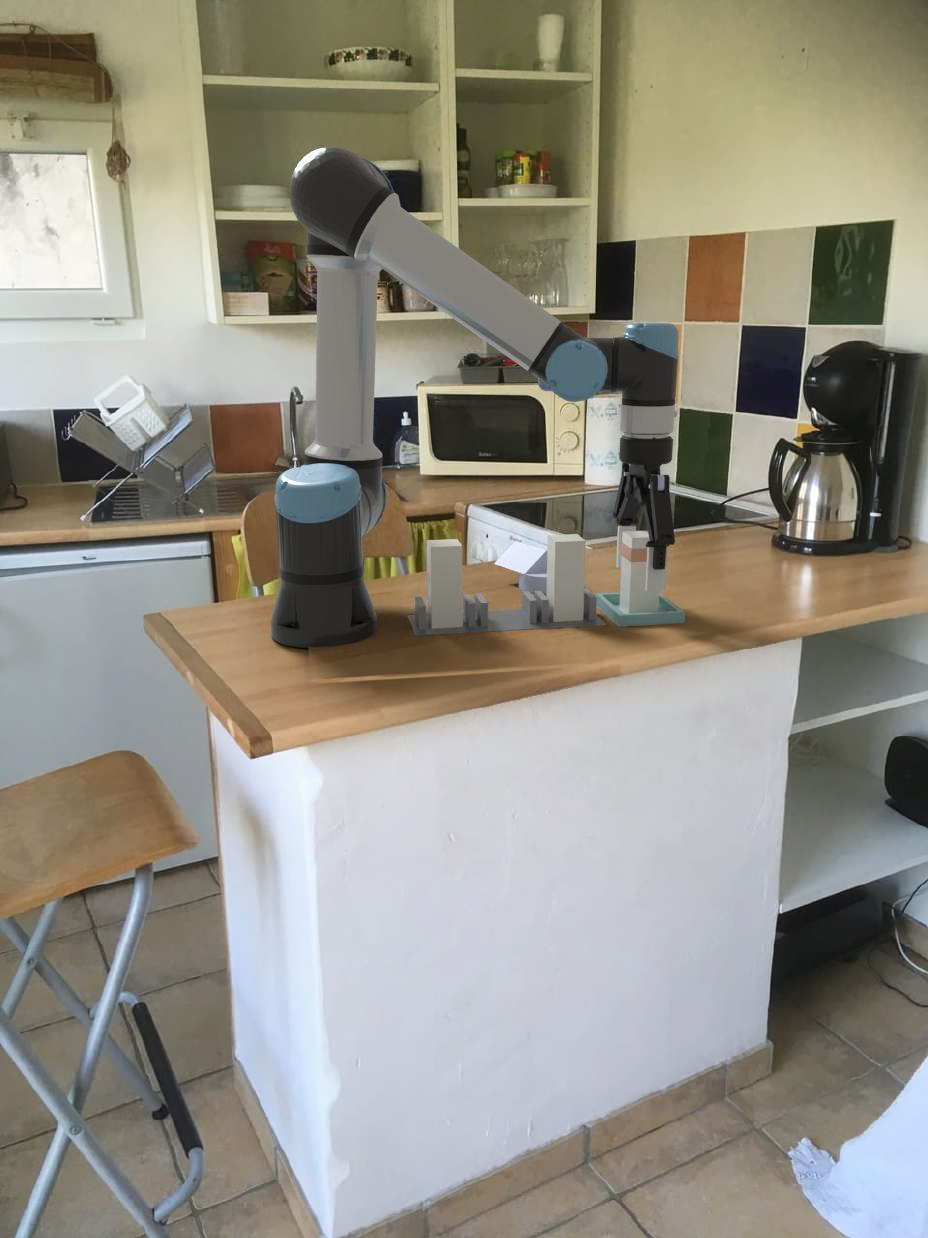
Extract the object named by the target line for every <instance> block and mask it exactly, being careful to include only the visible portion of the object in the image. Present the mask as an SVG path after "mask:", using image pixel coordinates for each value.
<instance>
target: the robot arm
mask: <svg viewBox="0 0 928 1238" xmlns="http://www.w3.org/2000/svg"><path fill="white" fill-rule="evenodd" d="M289 201H290V205H291V209H292V212H293V213H294V216H295V218H296V220H297V221H298V222H299V224H300V225H301V226H302V228H303V229H305V230H306V258H307V260H309V262H310V263H311V264H312V265H313V266H314V267H315V269H316V271H317V275H316V276H317V277H316V279H317V280H316V282H317V283H316V288H317V289H316V290H317V291H316V340H315V341H316V344H315V346H316V352H315V413H314V414H315V417H314V418H315V421H314V423H315V426H314V429H315V430H314V431H315V432H314V440H313V441H312V443H311V444H310V445H309V446H308V447H307V448H306V449H305V450H304V465H300V467H293V468H290V469H287V470H285V471H283V472H282V473H281V474H280V475H279V477H278V478H277V479H276V482H275V494H274V506H275V507H274V508H275V511H276V527H277V529H276V530H277V543H278V558H279V572H280V573H279V576H280V583H279V584H280V585H279V587H278V592H277V596H276V600H275V604H274V607H273V610H272V613H271V618H270V634H271V635H270V636H271V638H272V639H273V641H275V642H277V643H279V644H281V645H284V646H286V647H287V646H288V647H293V648H299V649H309V647H310V648H322V647H324V648H326V647H337V646H344V645H349V644H354V643H357V642H361V641H365V640H366V639H368V638H371V637H372V636H373V635H375V634H376V633H377V632H378V617H377V612H376V610H375V607H374V604H373V602H372V599H371V596H370V594H369V591H368V589H367V586H366V583H365V579H364V565H363V563H364V561H363V560H364V559H363V558H364V557H363V553H364V552H363V537H365V536H366V535H367V534H368V533H370V532H371V531H372V530H374V528H375V527H376V526H377V525H378V524H379V522H380V520H381V519H382V518H383V514H384V513H385V510H386V507H387V506H386V505H387V497H388V496H387V495H388V493H387V492H388V491H387V488H386V483H385V481H384V478H383V452H382V451H381V450H380V449H379V448H378V447H377V446H376V445H375V443H374V415H375V413H374V411H375V384H376V383H375V380H376V375H375V374H376V349H377V348H376V347H377V346H376V345H377V317H378V314H377V313H378V312H377V311H378V280H379V278H378V277H379V273H380V272H381V271H382V270H383V271H385V272H386V273H388V274H389V275H391V276H392V277H394V278H395V279H397V280H398V281H400V282H401V283H402V284H403V285H405V286H406V287H408V288H409V289H411V290H412V291H413V292H415V293H416V294H418V295H420V296H421V298H423V299H425V300H426V301H428V302H429V303H430V304H432V305H433V306H435V307H436V308H438V309H439V310H440V311H442V312H443V313H444V314H446V315H448V316H449V317H451V318H452V319H453V320H455V321H456V322H457V323H459V324H460V325H462V326H463V327H465V328H466V329H468V330H469V331H471V332H472V333H474V335H477V337H479V338H481V340H483V341H485V342H486V343H487V344H489V345H490V346H492V347H493V348H494V349H496V350H497V351H499V352H501V354H503V355H505V356H506V357H507V358H509V359H510V360H511V361H513V362H515V363H516V364H517V365H519V366H520V367H522V368H523V369H524V370H526V371H527V372H529V373H530V374H531V375H533V376H534V377H535V378H537V381H538V382H537V383H538V388H539V389H540V390H542V391H543V392H552V393H554V394H555V395H556V396H557V397H559V398H561V399H563V400H564V401H566V402H571V403H577V402H583V401H584V402H585V401H588V400H589V399H592V398H594V396H595V395H596V394H597V393H606V392H607V393H619V392H620V393H621V396H622V397H621V405H620V423H619V424H620V425H619V427H620V428H619V430H620V432H621V433H623V434H624V435H621V437H620V438H619V455H618V457H619V458H618V459H619V461H620V462H622V465H621V474H620V480H619V485H618V488H617V489H618V491H617V494H616V499H615V503H614V507H613V508H614V509H613V513H612V516H613V519H616V525H618V526H617V535H616V536H617V537H616V540H617V541H616V556H615V557H616V559H615V560H616V561H615V567H616V568H617V569H621V558H622V555H621V548H622V534H623V532H625V531H637V525H638V524H639V521H638V517H637V516H638V513H639V510H640V508H641V507H642V509H643V514H644V518H645V523H646V528H647V529H646V530H647V531H648V534H649V539H650V541H648V542H647V543H646V547H647V564H646V583H645V590H646V591H659V592H660V591H665V590H666V582H667V581H666V579H667V577H666V576H667V565H668V564H667V563H668V562H667V561H668V560H667V559H668V548H669V546H670V545H671V546H673V545H675V543H676V540H675V539H676V538H675V531H674V522H673V520H674V519H673V512H672V511H673V510H672V504H671V502H672V501H671V494H670V479H671V477H670V475H669V474H662V473H661V466H663V465H667V464H669V463H671V462H672V460H673V448H674V447H673V445H674V439H673V437H672V436H671V434H672V433H673V432H674V428H675V427H674V426H675V418H676V417H677V416H678V411H677V410H676V409H675V408H676V407H675V406H676V394H677V381H678V368H679V367H678V366H679V329H678V328H677V326H676V325H675V324H673V323H671V322H630V323H627V324H626V325H625V327H624V332H623V333H622V334H623V336H618V337H591V336H590V337H585V336H582V335H580V333H577V332H576V331H575V329H573V328H571V327H570V326H568V325H567V324H565V323H563V322H562V321H561V320H560V319H558V318H557V317H555V316H554V315H552V314H551V313H550V312H548V311H547V310H545V309H544V308H543V307H541V306H540V305H539V304H537V303H536V302H535V301H533V300H531V299H530V298H529V297H528V296H526V295H524V294H523V293H522V292H521V291H519V290H517V289H516V288H515V287H514V286H512V285H510V284H509V283H508V282H506V281H505V280H503V279H502V278H500V277H499V276H498V275H497V274H495V273H493V271H491V270H489V269H488V268H487V267H486V266H485V265H482V264H481V263H480V262H478V261H477V260H476V259H474V258H473V257H471V256H470V255H469V254H468V253H466V252H464V251H463V250H461V248H459V247H457V246H456V245H455V244H454V243H452V242H450V241H449V240H447V239H446V238H445V237H444V236H442V235H440V234H439V233H438V232H436V231H435V230H434V229H432V228H431V227H430V226H429V225H426V223H424V222H422V221H421V220H420V219H418V218H417V217H416V216H414V215H413V214H411V213H410V212H408V211H407V210H406V209H404V208H403V207H401V206H402V205H401V202H400V197H399V194H397V193H396V192H395V191H394V189H393V186H392V184H391V181H390V180H389V179H388V177H387V175H386V174H385V173H384V171H383V170H382V169H381V168H380V167H378V165H376V164H374V163H373V162H371V160H368V159H365V158H363V157H361V156H359V155H358V154H356V153H355V152H353V151H351V150H349V149H347V148H343V147H340V146H324V147H320V148H318V149H315V150H312V151H311V152H309V153H308V154H307V155H305V156H304V157H303V158H302V159H301V160H300V161H299V162H298V164H297V166H296V167H295V168H294V170H293V173H292V176H291V179H290V183H289Z"/></svg>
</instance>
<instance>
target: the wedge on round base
mask: <svg viewBox="0 0 928 1238" xmlns="http://www.w3.org/2000/svg"><path fill="white" fill-rule="evenodd" d="M493 565H496V566H500V567H503V568H504V569H505V568H506V569H508V570H511V571H514V572H516V573H518V589H519V590H521V591H522V592H525V591H529V592H530V593H531V594H534V591H541V592H542V593H543V594H544V595H547V549H543V548H540V547H537V546H533V545H530V544H527V543H524V542H521V541H516V540H515V541H514V542H513V543H512V544H510V546H509V547H508V549H506V551H504V553H502V554H501V556H500V557H499V558H498V559H497V560H496V561H495V562H494V563H493Z"/></svg>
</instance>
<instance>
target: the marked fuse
mask: <svg viewBox="0 0 928 1238" xmlns="http://www.w3.org/2000/svg"><path fill="white" fill-rule="evenodd" d="M648 541H650V539H649V534H648V530H636V531H625V532H623V534H622V548H621V555H622V558H621V568H620V582H619V583H620V585H619V587H620V588H619V589H620V591H619V592H620V606H619V609H620V610H621V611H622V612H624V613H625V614H629V613H647V612H658V602H659V592H660V591H646V590H645V583H646V564H647V547H646V543H647V542H648Z"/></svg>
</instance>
